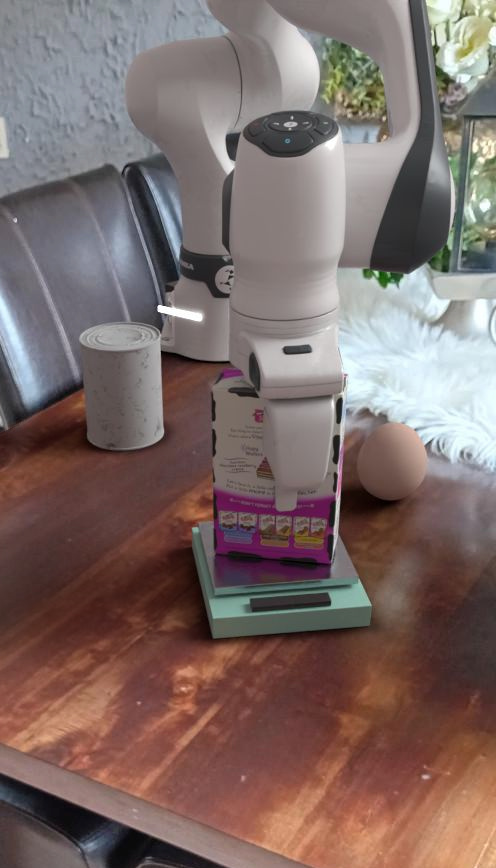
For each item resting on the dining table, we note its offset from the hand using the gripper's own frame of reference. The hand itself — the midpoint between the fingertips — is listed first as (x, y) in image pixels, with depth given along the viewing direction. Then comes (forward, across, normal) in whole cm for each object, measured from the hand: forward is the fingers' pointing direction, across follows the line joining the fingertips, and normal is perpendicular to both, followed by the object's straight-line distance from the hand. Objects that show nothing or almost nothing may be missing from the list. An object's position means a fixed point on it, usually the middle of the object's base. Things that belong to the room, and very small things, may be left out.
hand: (276, 488), depth 90 cm
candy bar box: (+6, 0, 0) cm, 6 cm away
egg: (+10, -14, +15) cm, 23 cm away
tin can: (+10, -35, -12) cm, 38 cm away
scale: (+10, +1, 0) cm, 10 cm away
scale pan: (+7, 0, 0) cm, 7 cm away
